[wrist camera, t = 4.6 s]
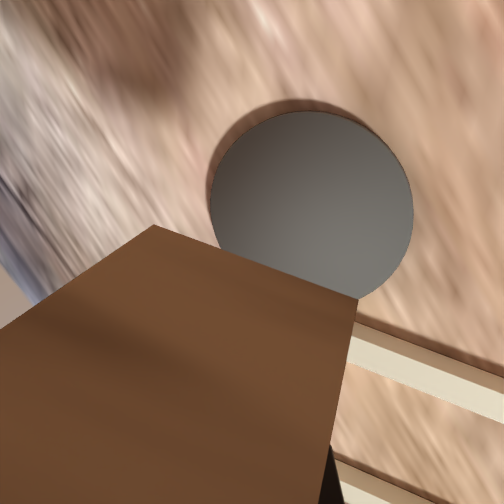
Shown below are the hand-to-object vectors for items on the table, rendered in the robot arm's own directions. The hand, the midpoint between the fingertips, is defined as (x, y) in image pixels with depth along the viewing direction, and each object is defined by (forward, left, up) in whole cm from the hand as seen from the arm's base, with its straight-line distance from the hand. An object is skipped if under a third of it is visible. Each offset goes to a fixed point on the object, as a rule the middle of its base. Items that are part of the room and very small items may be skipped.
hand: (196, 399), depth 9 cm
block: (0, 0, -2) cm, 2 cm away
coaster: (0, 0, -12) cm, 12 cm away
